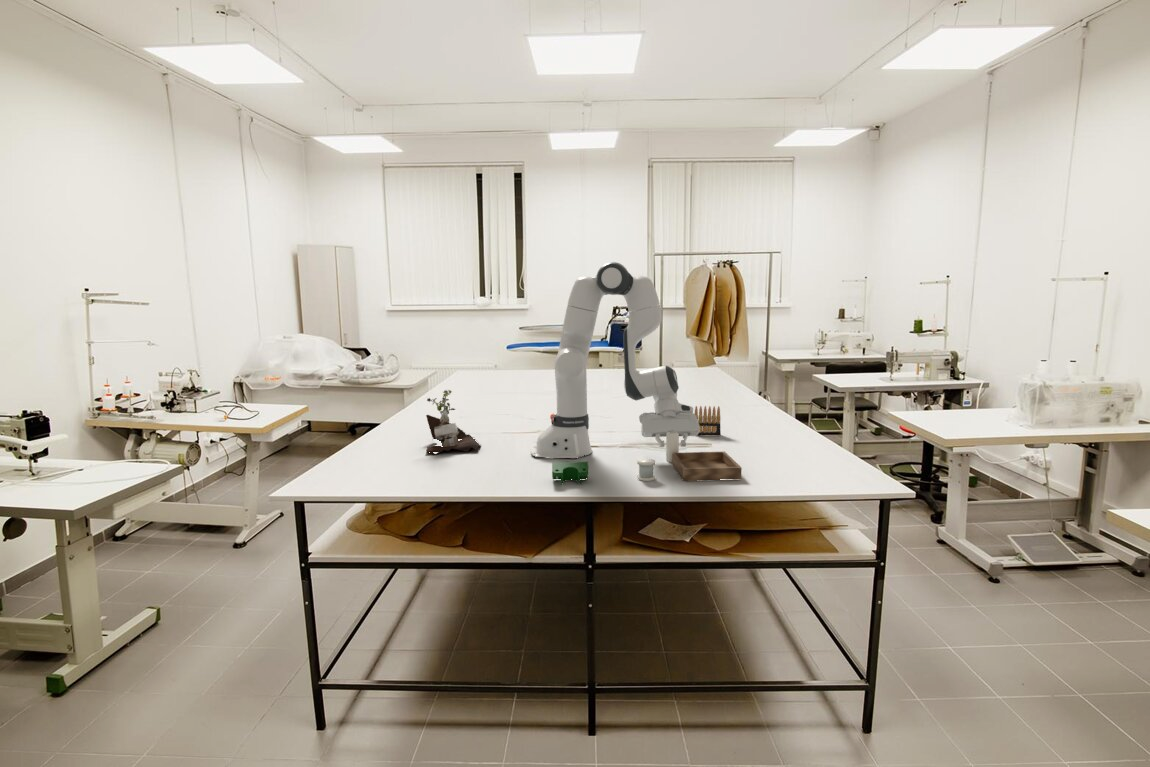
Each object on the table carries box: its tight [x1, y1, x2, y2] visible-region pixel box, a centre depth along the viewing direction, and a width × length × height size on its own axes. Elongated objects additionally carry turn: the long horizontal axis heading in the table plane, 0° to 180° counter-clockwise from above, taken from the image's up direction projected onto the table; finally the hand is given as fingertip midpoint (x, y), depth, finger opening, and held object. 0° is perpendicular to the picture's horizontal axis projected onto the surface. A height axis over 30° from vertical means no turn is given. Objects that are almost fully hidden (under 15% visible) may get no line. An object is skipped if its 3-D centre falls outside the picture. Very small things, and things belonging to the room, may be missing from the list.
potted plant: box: [425, 389, 481, 454], centre depth 226 cm, size 20×19×25 cm
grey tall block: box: [665, 430, 680, 463], centre depth 203 cm, size 4×4×11 cm
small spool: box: [636, 457, 656, 482], centre depth 185 cm, size 6×6×6 cm
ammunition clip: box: [694, 405, 722, 436], centre depth 237 cm, size 11×2×12 cm, turn 83°
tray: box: [671, 450, 743, 482], centre depth 191 cm, size 18×18×4 cm
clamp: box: [551, 461, 590, 484], centre depth 183 cm, size 12×6×9 cm, turn 86°
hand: (672, 446), depth 202 cm, fingers open, 6 cm apart
